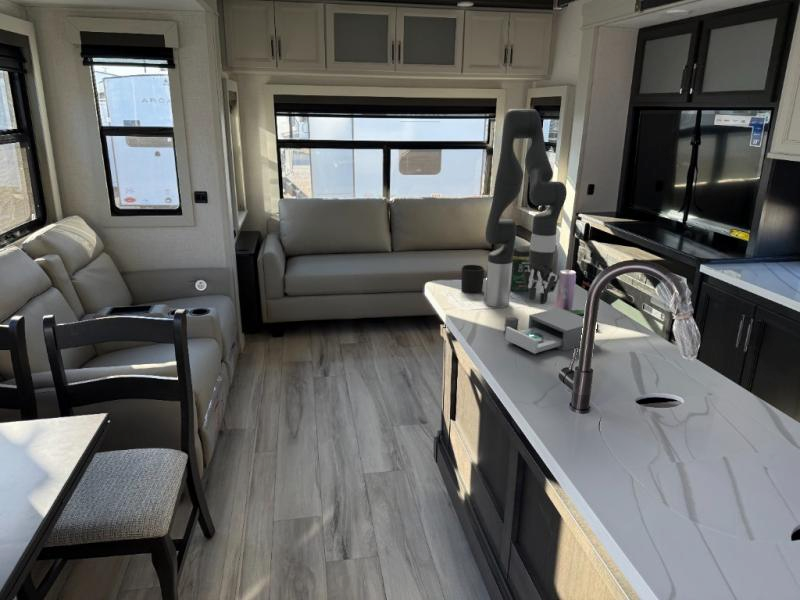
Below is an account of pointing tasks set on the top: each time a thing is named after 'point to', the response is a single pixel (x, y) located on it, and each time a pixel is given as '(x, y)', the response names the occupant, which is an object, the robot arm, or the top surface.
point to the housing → (559, 326)
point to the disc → (536, 336)
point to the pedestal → (511, 323)
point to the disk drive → (580, 313)
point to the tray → (532, 339)
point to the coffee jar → (519, 267)
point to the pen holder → (472, 279)
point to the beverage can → (566, 289)
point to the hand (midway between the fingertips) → (537, 301)
